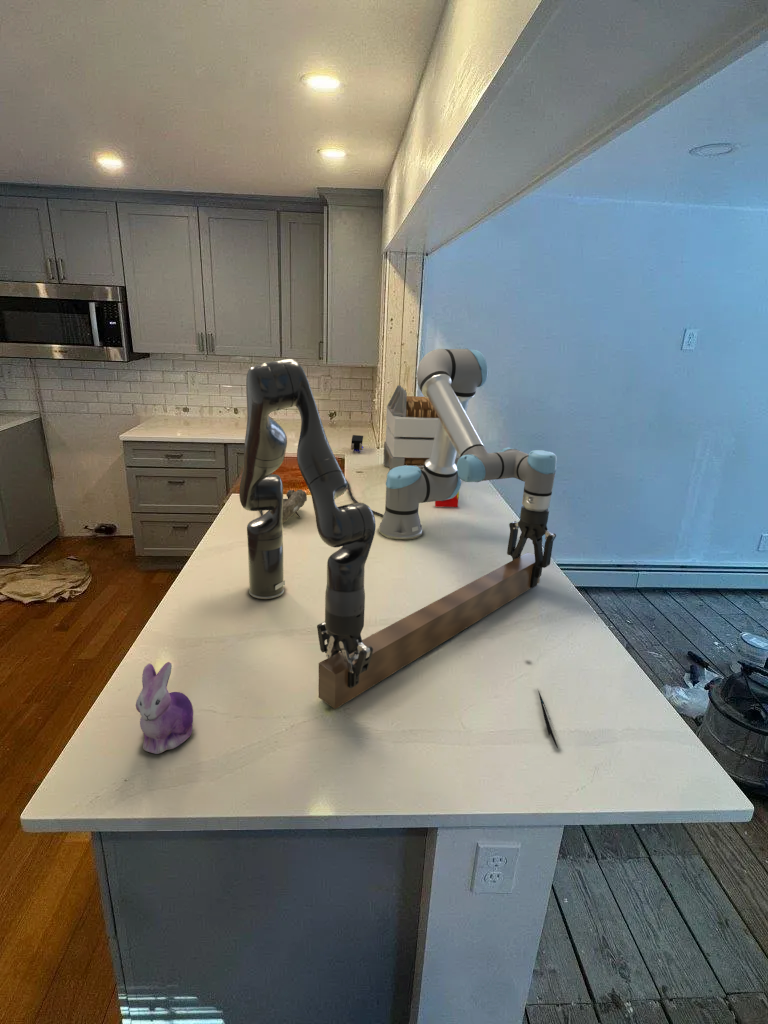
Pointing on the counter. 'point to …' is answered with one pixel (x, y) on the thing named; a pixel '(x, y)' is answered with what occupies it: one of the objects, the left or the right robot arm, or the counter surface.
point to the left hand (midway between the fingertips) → (343, 679)
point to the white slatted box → (409, 430)
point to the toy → (448, 502)
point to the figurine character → (356, 443)
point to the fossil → (293, 503)
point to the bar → (426, 629)
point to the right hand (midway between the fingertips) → (524, 582)
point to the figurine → (162, 711)
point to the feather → (547, 719)
